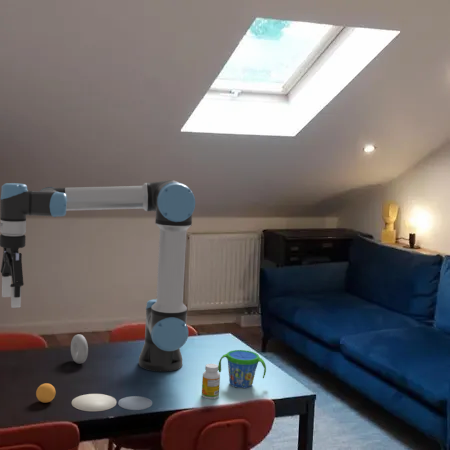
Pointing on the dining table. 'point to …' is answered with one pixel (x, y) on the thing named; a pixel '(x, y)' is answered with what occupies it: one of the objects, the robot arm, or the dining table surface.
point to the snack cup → (242, 367)
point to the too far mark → (135, 403)
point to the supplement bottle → (211, 382)
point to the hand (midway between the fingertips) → (10, 302)
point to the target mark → (94, 402)
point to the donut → (79, 348)
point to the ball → (45, 393)
